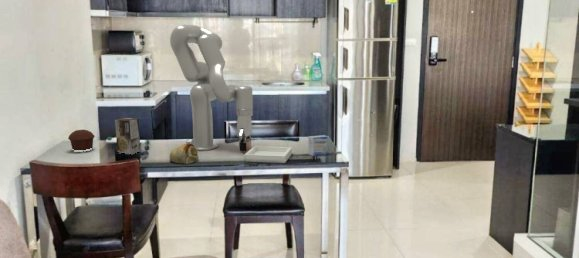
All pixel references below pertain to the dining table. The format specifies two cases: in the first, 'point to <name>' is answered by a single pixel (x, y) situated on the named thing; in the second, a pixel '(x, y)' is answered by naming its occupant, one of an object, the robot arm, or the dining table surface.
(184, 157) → the pastry
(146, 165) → the dining table surface
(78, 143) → the muffin
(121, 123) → the coffee box
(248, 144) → the shaker
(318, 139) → the medicine box
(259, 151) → the tray
